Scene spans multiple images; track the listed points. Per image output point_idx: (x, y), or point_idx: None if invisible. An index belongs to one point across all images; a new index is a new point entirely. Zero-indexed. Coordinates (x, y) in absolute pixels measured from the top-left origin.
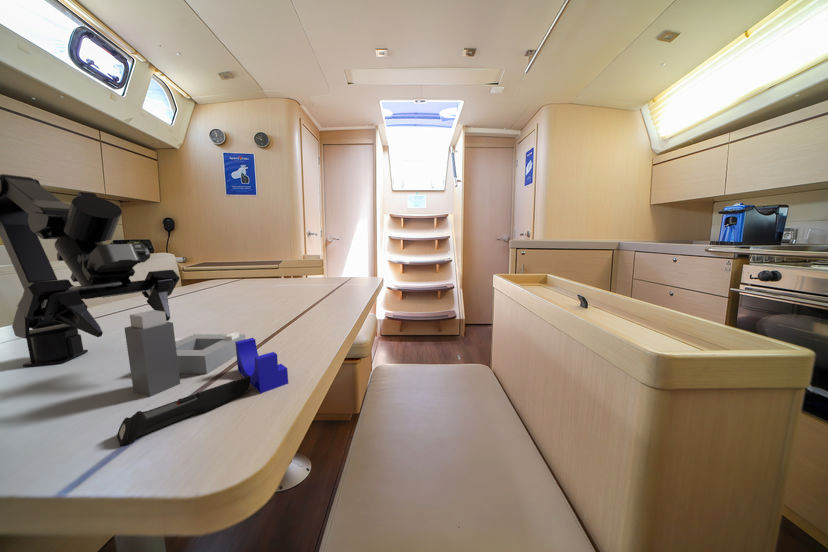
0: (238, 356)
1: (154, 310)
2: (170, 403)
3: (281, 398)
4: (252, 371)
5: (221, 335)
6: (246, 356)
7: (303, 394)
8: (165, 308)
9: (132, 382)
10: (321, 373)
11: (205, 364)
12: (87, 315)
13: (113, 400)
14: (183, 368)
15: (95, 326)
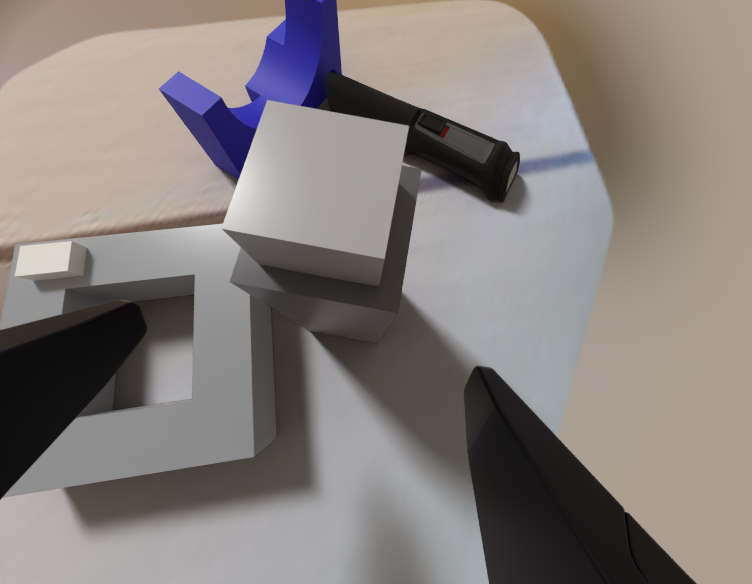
0: (238, 137)
1: (233, 207)
2: (446, 147)
3: (352, 42)
4: None
5: None
6: (237, 118)
7: None
8: (32, 335)
9: (378, 341)
10: (250, 19)
11: None
12: (586, 501)
13: (417, 348)
14: (265, 306)
15: (511, 403)
